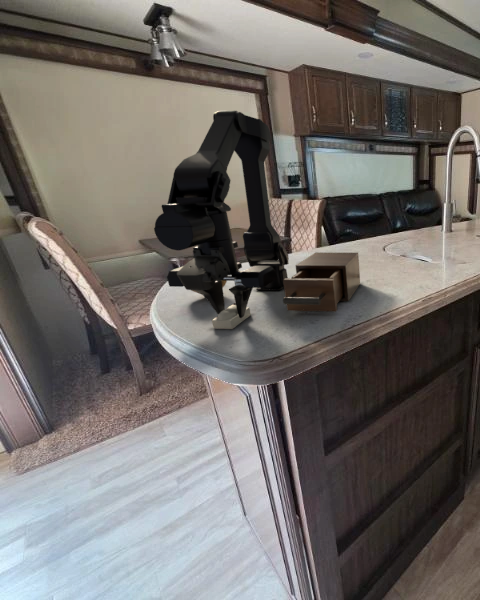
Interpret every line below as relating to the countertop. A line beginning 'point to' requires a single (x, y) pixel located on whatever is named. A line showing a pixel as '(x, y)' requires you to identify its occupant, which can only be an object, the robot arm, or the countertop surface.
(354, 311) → the countertop surface
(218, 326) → the cream lumpy block
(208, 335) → the countertop surface
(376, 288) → the countertop surface
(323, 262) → the cabinet
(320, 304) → the drawer
